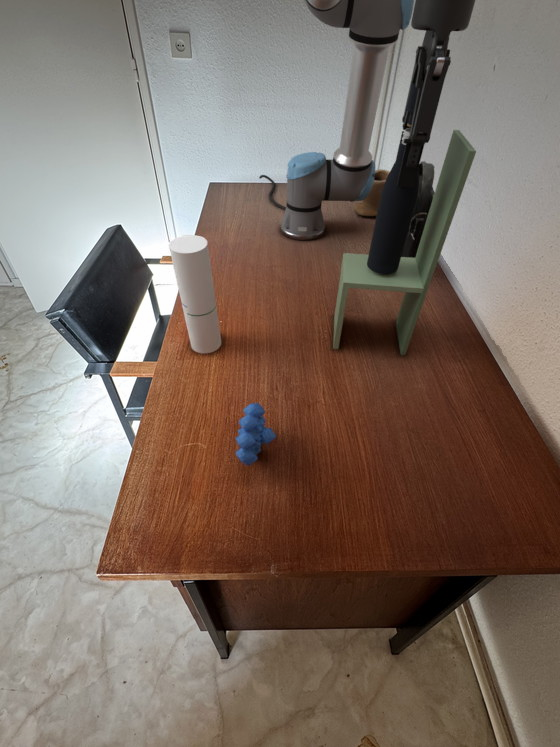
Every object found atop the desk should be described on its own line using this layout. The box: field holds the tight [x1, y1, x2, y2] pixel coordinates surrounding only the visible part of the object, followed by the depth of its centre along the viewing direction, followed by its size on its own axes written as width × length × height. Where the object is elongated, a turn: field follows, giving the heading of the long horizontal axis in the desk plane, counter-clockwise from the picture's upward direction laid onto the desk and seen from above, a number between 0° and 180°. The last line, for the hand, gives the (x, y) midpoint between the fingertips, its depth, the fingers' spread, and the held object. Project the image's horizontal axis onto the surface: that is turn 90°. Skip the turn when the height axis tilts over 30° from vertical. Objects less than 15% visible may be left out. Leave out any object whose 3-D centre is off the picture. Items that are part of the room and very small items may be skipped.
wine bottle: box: [367, 83, 419, 274], centre depth 66 cm, size 6×6×30 cm
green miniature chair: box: [332, 129, 477, 356], centre depth 75 cm, size 12×17×42 cm
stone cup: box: [354, 168, 390, 217], centre depth 133 cm, size 15×12×15 cm
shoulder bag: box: [401, 160, 435, 258], centre depth 104 cm, size 23×9×28 cm, turn 172°
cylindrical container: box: [168, 234, 222, 355], centre depth 79 cm, size 7×7×25 cm
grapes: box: [234, 402, 277, 466], centre depth 63 cm, size 12×7×12 cm, turn 171°
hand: (402, 179), depth 65 cm, fingers closed on wine bottle, 5 cm apart
